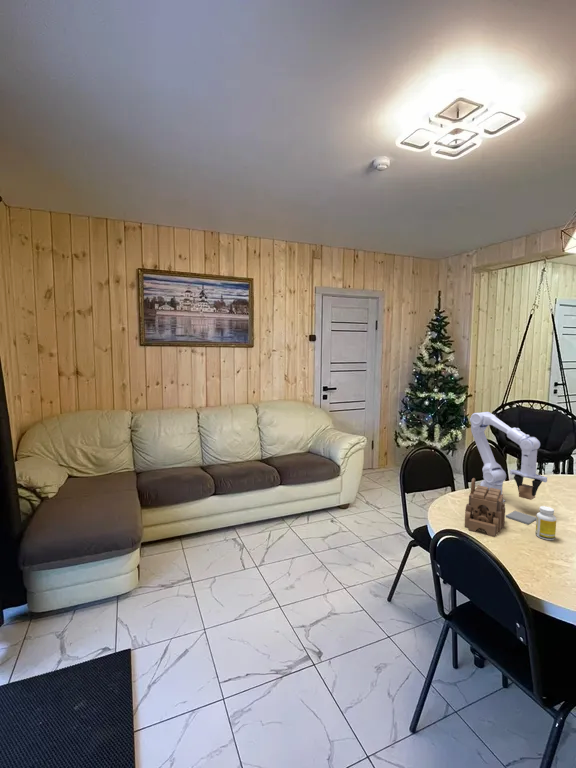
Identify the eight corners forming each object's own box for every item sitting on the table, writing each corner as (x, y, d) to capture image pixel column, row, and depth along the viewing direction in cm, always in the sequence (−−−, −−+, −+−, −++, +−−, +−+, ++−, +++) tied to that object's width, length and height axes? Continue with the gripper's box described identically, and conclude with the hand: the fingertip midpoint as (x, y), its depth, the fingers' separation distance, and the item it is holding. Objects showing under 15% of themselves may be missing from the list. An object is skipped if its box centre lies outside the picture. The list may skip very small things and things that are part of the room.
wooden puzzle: (500, 538, 148) (503, 492, 146) (460, 528, 156) (462, 484, 155) (506, 519, 166) (509, 477, 164) (470, 510, 174) (472, 471, 173)
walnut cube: (518, 496, 173) (519, 486, 172) (523, 494, 176) (523, 483, 175) (530, 499, 169) (531, 489, 168) (535, 497, 172) (535, 486, 172)
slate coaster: (505, 517, 167) (505, 515, 167) (514, 512, 173) (514, 510, 173) (528, 524, 160) (528, 522, 160) (536, 519, 165) (536, 517, 165)
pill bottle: (558, 541, 146) (560, 512, 145) (539, 539, 147) (541, 511, 146) (550, 534, 152) (552, 505, 151) (532, 532, 153) (534, 504, 152)
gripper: (507, 461, 174) (506, 490, 175) (543, 469, 163) (541, 500, 164) (514, 459, 179) (512, 487, 180) (549, 466, 167) (547, 496, 168)
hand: (526, 493), depth 172 cm, fingers closed on walnut cube, 5 cm apart
